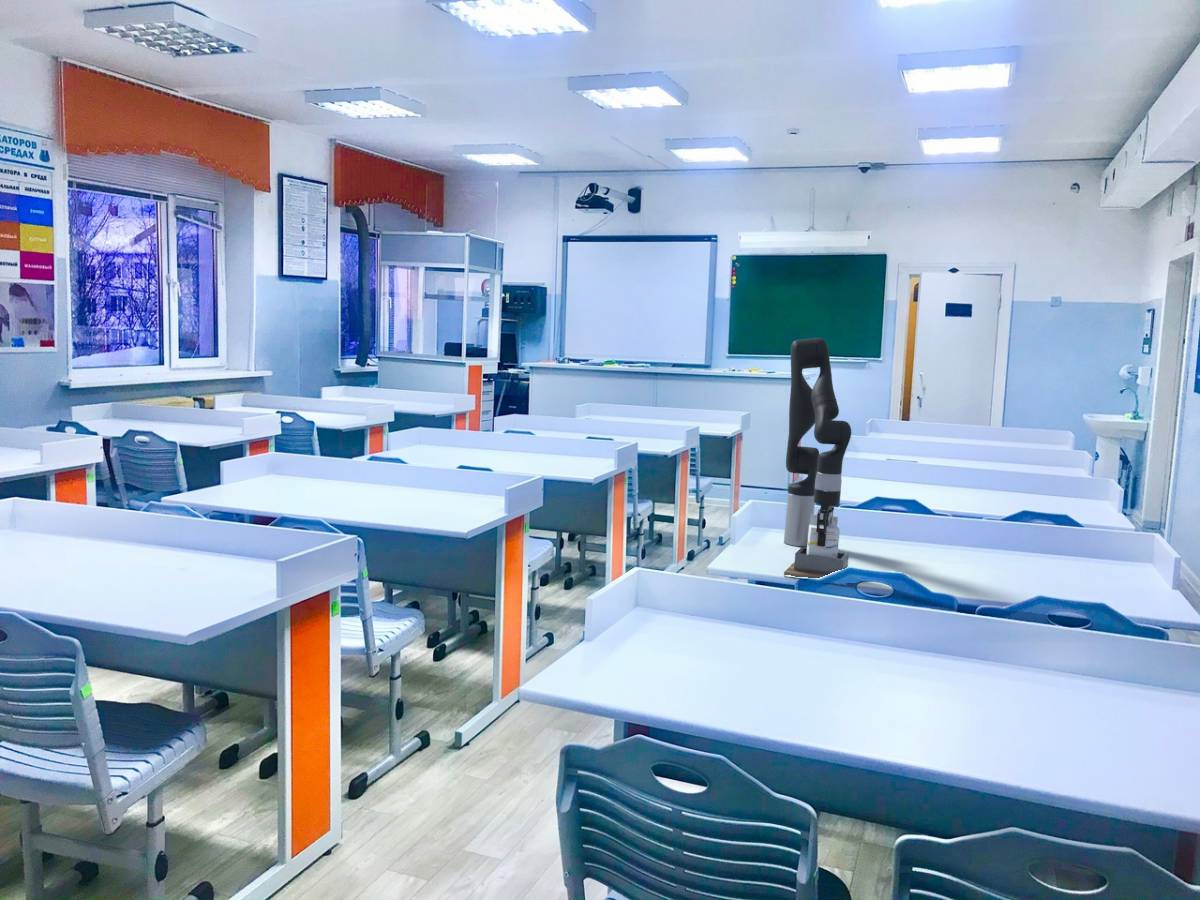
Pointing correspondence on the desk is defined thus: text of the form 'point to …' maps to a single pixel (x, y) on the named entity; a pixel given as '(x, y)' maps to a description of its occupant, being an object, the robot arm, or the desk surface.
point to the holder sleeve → (819, 562)
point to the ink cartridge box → (830, 543)
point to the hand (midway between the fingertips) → (823, 543)
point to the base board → (801, 573)
